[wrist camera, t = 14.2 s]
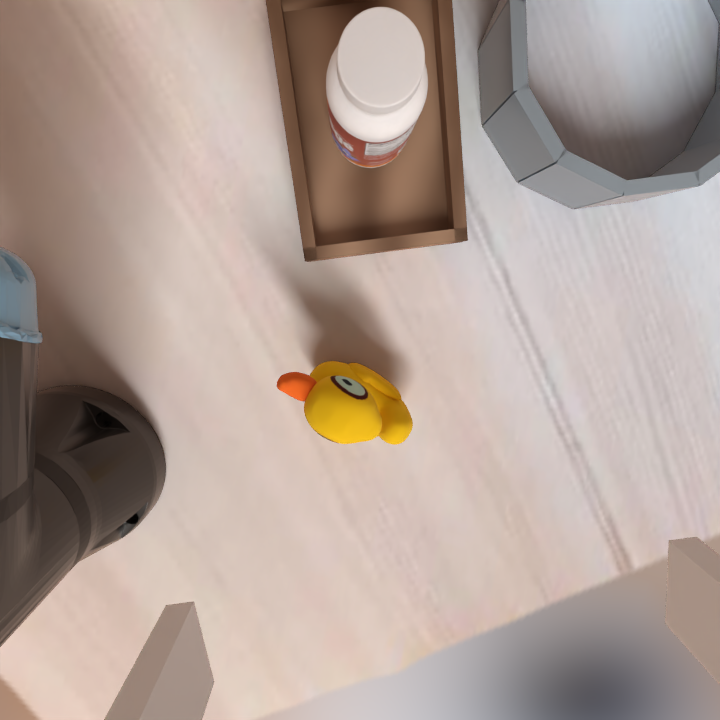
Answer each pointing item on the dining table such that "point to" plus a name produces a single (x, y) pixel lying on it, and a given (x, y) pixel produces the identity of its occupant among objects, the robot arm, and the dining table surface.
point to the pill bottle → (376, 86)
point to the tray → (360, 184)
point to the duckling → (349, 403)
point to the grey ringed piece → (541, 143)
